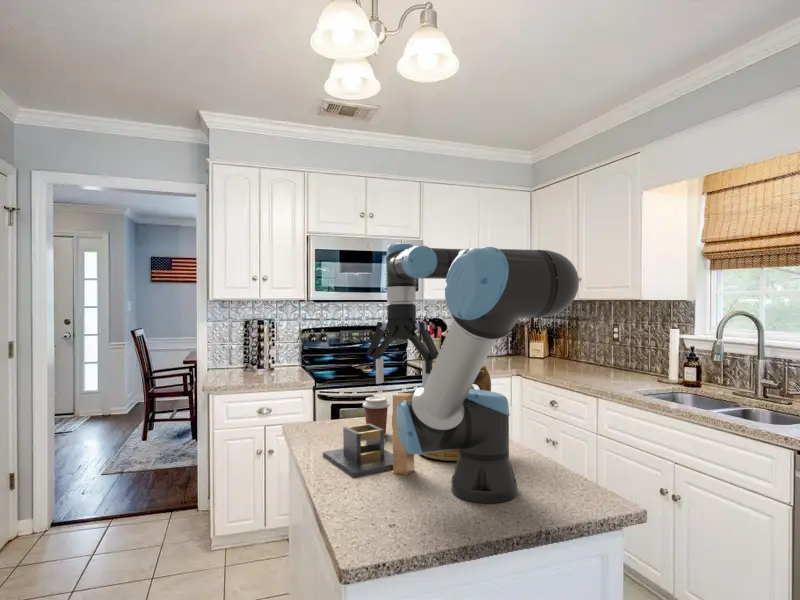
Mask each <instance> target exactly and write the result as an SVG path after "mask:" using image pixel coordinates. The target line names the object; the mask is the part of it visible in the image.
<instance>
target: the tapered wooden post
mask: <svg viewBox="0 0 800 600" xmlns="http://www.w3.org/2000/svg"><path fill="white" fill-rule="evenodd" d="M413 395H414V393H407V392H398V393H395V394H392V412H393V427H392V454H393V469H392V472H393V473H395V474H399V475H405V476H408V475H409V474H410V473H412V472H413V471H415V454H408V453H407V452H406V451H405V450H404V448H403V447H402V444H401V441H400V438H399V434H398V428H397V420H396V409H397V405H398V403H399V402H401V401H404V400H406V401H409V400H411V399H412V397H413Z"/></svg>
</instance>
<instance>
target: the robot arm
mask: <svg viewBox="0 0 800 600" xmlns="http://www.w3.org/2000/svg"><path fill="white" fill-rule="evenodd" d="M385 261H386V302H387V303H389V304H387V306H386V309H387V310H386V313H387V314H386V318H387V322H385V321H378V322H377V323H376V329H375V330H376V331H375V332H374V334H373V337H372V339H371V342H370V344H369V346H368V349H367V351H366V356H368V357H371V358H372V363H373V368H372V369H373V371H375V383H376V385H379V384H382V383H385V382H384V379H385V378H384V376H385V374H384V358H383V357H382V356H383V354H384V353H385V352H386V351H387V349H388V348H389V346H390V345H391V344H392V342H393V341H394V340H400V339H401V340H409V341H410V342H411V343H412V345H413V346H414V347H415V349H416V350H417V351H418V352H419V354H420V355H421V356H422V358H423V359H424V360H422V361H421V373H422V375H421V376H422V378H421V379H422V380H421V381H422V382H421V385H422V386H421V385H420V386H419V387H418V388H417V389H416V390H415V391H414V393H413V397H412V399H411V400H409V401H406V400H404V401H401V402H399V403H398V405H397V409H396V420H397V428H398V434H399V438H400V441H401V444H402V447H403V448H404V450H405V451H406V452H407V453H408V454H414V455H421V454H426V453H433V452H441V451H449V450H456V449H459V456H458V460H457V461H456V463H455V468H454V472H453V474H452V477H451V480H450V481H451V482H450V483H451V488H450V489H451V492H452V493H453V494H454V495H455V496H456V497H458V498H460V499H463V500H465V501H468V502H475V503H481V504H497V503H505V502H508V501H510V500H513V499H515V497H516V496H517V495H518V482H517V478H516V477H515V473H514V470H513V466H512V464H511V460H510V415H511V414H510V407H509V400H508V398H507V397H506V396H505V395H503V394H502V393H499V392H496V391H495V392H494V391H492V390H491V391H486V390H479V388H478V389H477V388H475V389H470V388H471V386H474V384H473V383H474V381H475V379H476V377H477V375H478V373H479V371H480V369H481V368H482V366H483V365H485V362H486V360H487V358H488V356H489V354H490V352H491V350H492V349H493V347H494V345H495V343H496V341H498V340H501V339H504V338H506V337H507V336H508V335H510V333H511V331H512V330H513V328H514V326H516V325H515V324H516V323H517V321H518V320H519V319H523V318H545V317H551V316H554V315H558V314H559V313H561V312H563V311H564V310H565V309H567V308H568V307H569V306H570V305H571V304H572V303H573V301H574V299H575V298H576V296H577V294H578V291H579V283H580V281H579V275H578V271H577V269H576V267H575V265H574V264H573V262H572V261H571V260H570V259H568V257H566V256H564V255H563V254H561V253H559V252H555V251H551V250H547V249H517V248H513V249H512V248H497V247H493V246H484V247H483V246H482V247H480V248H479V247H476V248H475V247H474V248H473V247H472V248H441V247H440V248H439V247H428V245H413V244H411V243H394V244H393V243H391V244H389V245H388V246H387V247H386V257H385ZM416 279H429V280H430V279H434V280H435V279H438V280H439V279H444V280H445V283H446V287H444V297H445V304H446V307H447V308H448V309H447V310H449V313H450V316H451V318H452V321H451V323H450V326H449V329H448V330H447V333H446V335H445V337H444V340H443V342H442V345H441V347H440V350H439V351H438V348H437V347H436V344H435V343H434V342H435V341H434V340H433V338H432V336H431V334H430V331H429V327H428V322H426V321H421V322H417V320H416V318H417V307H416V304H414V303H416V299H417V298H416V297H417V296H416ZM386 329H387V330H388V333H387V334H386V335H385V337H384V340H382V339H383V336H384V333H385V331H386ZM417 330H418V331H419V332H420V336H421V337H422V339H423V342H422V340H421V339H420V338H419V336H418V335H417V333H416V331H417ZM381 341H382V342H381ZM434 360H435V361H434ZM433 361H434V364H433ZM432 367H433V368H432Z"/></svg>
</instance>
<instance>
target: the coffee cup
mask: <svg viewBox="0 0 800 600" xmlns="http://www.w3.org/2000/svg"><path fill="white" fill-rule="evenodd" d="M390 406H391V405H390V402H389V401H388V400H387V398H386V397H385V396H370V397H369V396H368V397H366V398H365V401H364V402H363V403H362V408H364V415H365V418H364V419H365V424H369V423H370V424H372V425H375V426H377V427H379V428H381V429H384V435H385V436H386V435H387V423H388V422H387V421H388V409H389V407H390Z"/></svg>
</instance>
